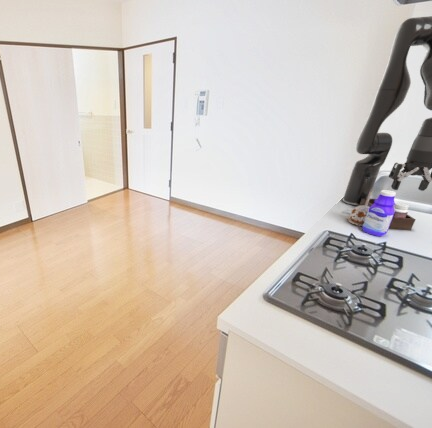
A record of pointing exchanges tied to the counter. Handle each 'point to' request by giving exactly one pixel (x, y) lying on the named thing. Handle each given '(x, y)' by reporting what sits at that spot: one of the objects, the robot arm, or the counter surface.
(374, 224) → the bottle
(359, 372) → the counter surface
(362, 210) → the decorative ornament
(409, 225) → the organiser
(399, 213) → the pill bottle
